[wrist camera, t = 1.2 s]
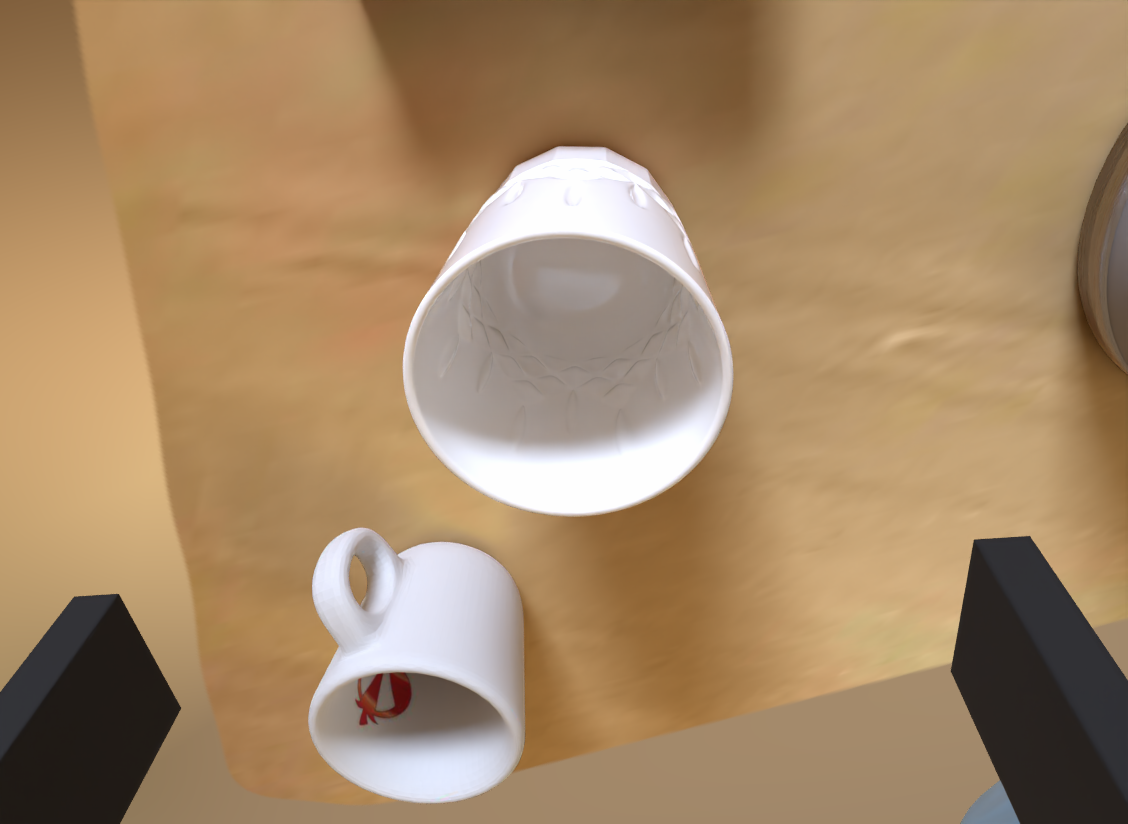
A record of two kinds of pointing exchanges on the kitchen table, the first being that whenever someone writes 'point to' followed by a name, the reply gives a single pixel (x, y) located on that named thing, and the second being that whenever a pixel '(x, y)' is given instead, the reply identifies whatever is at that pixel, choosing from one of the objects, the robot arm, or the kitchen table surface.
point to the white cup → (570, 342)
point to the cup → (420, 670)
